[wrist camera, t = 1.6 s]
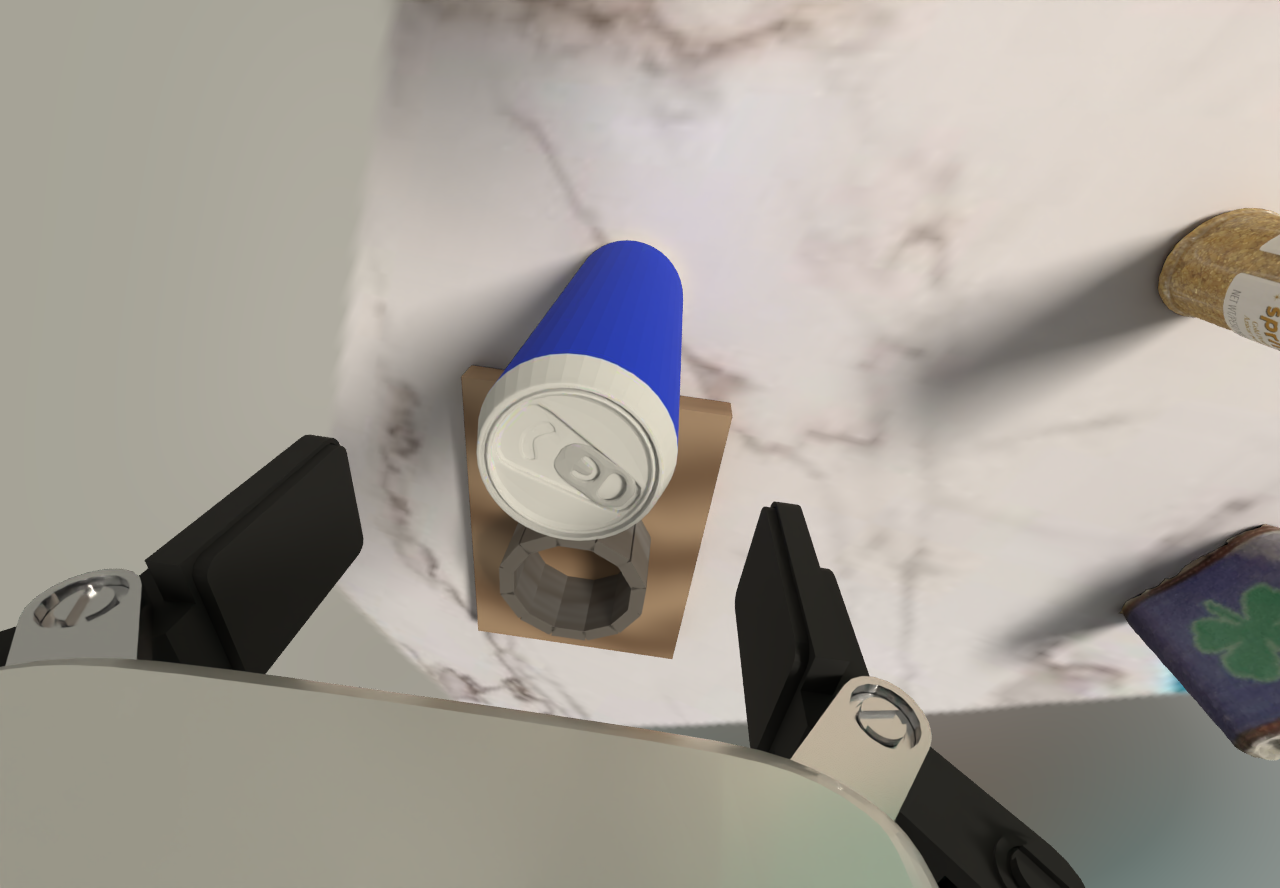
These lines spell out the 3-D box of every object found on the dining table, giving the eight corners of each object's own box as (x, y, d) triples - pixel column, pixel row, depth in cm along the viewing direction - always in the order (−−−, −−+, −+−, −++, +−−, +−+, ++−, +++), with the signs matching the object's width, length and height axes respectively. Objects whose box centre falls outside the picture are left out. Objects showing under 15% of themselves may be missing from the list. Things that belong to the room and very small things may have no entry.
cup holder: (471, 365, 28) (428, 414, 23) (730, 402, 28) (738, 459, 23) (485, 613, 39) (457, 681, 34) (672, 641, 38) (670, 712, 34)
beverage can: (557, 305, 26) (430, 484, 13) (614, 213, 23) (526, 323, 11) (642, 363, 27) (601, 577, 14) (705, 282, 25) (721, 454, 12)
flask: (1264, 516, 29) (1526, 696, 20) (1296, 538, 30) (1565, 723, 21) (1108, 609, 34) (1264, 790, 24) (1139, 626, 34) (1302, 810, 25)
